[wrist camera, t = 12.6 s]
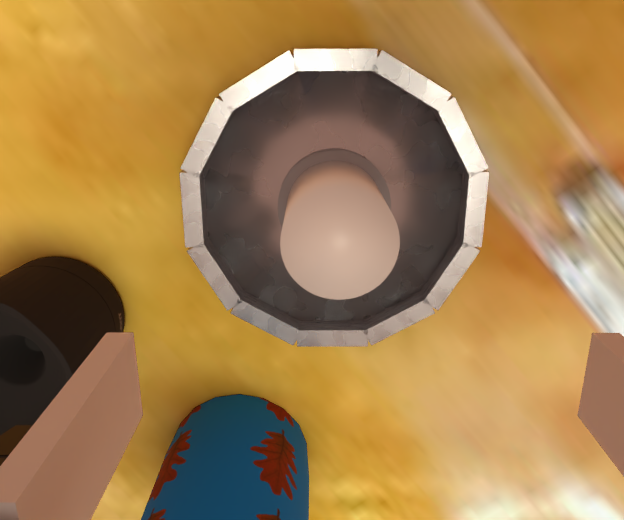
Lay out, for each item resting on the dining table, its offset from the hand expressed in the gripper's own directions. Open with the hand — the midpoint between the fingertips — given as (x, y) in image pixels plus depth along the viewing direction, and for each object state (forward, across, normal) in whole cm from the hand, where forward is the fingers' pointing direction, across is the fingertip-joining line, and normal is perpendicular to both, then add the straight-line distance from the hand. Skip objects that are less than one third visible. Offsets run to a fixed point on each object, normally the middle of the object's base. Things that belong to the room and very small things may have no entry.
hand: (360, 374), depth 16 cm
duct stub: (+22, 0, 0) cm, 22 cm away
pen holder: (+22, -19, -8) cm, 31 cm away
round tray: (+22, 0, 0) cm, 22 cm away
